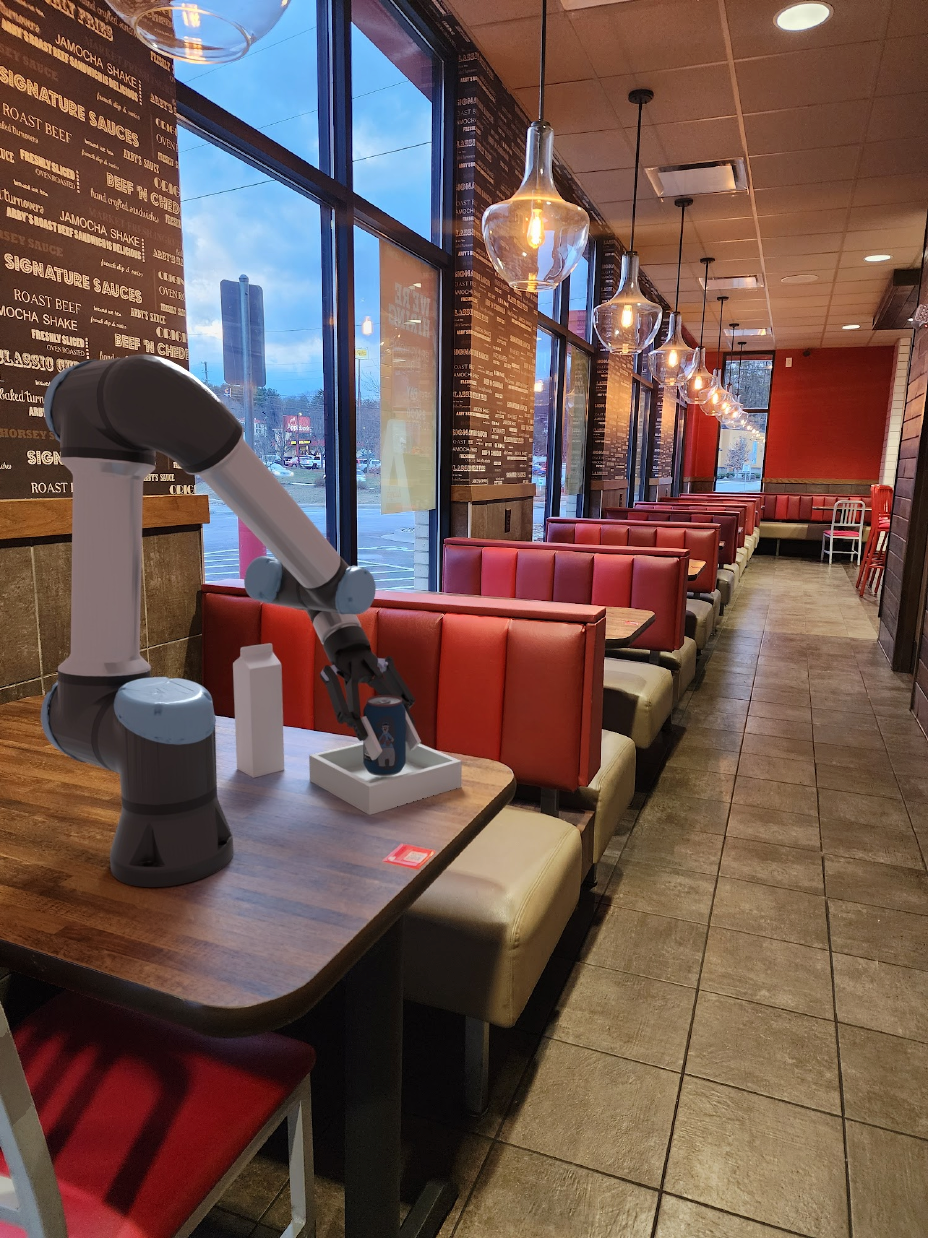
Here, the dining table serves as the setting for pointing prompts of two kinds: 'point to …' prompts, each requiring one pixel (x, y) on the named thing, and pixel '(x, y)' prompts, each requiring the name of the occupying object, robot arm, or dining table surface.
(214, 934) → the dining table surface
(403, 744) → the soda can
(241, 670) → the milk
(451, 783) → the box
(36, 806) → the dining table surface
